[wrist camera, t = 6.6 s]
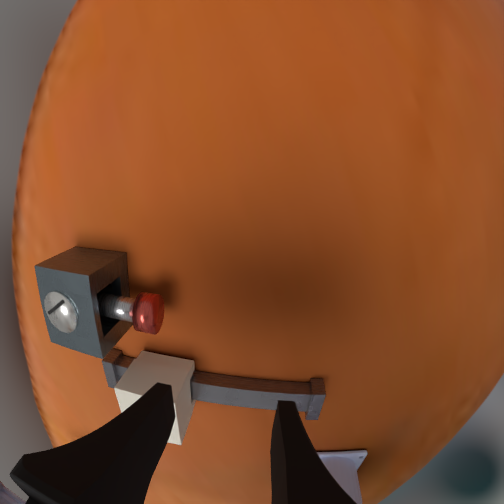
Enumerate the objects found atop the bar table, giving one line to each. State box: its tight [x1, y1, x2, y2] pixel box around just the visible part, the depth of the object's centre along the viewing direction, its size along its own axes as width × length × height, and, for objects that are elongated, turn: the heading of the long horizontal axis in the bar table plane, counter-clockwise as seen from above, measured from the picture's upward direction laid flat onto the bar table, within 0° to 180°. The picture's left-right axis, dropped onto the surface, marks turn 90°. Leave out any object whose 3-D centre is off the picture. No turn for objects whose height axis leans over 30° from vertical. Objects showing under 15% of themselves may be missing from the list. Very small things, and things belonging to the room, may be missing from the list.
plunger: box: [98, 292, 164, 334], centre depth 18 cm, size 3×4×3 cm, turn 86°
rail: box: [102, 348, 326, 420], centre depth 21 cm, size 3×18×2 cm, turn 86°
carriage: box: [114, 351, 196, 445], centre depth 20 cm, size 5×4×5 cm
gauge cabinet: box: [35, 247, 133, 359], centre depth 18 cm, size 6×5×5 cm
